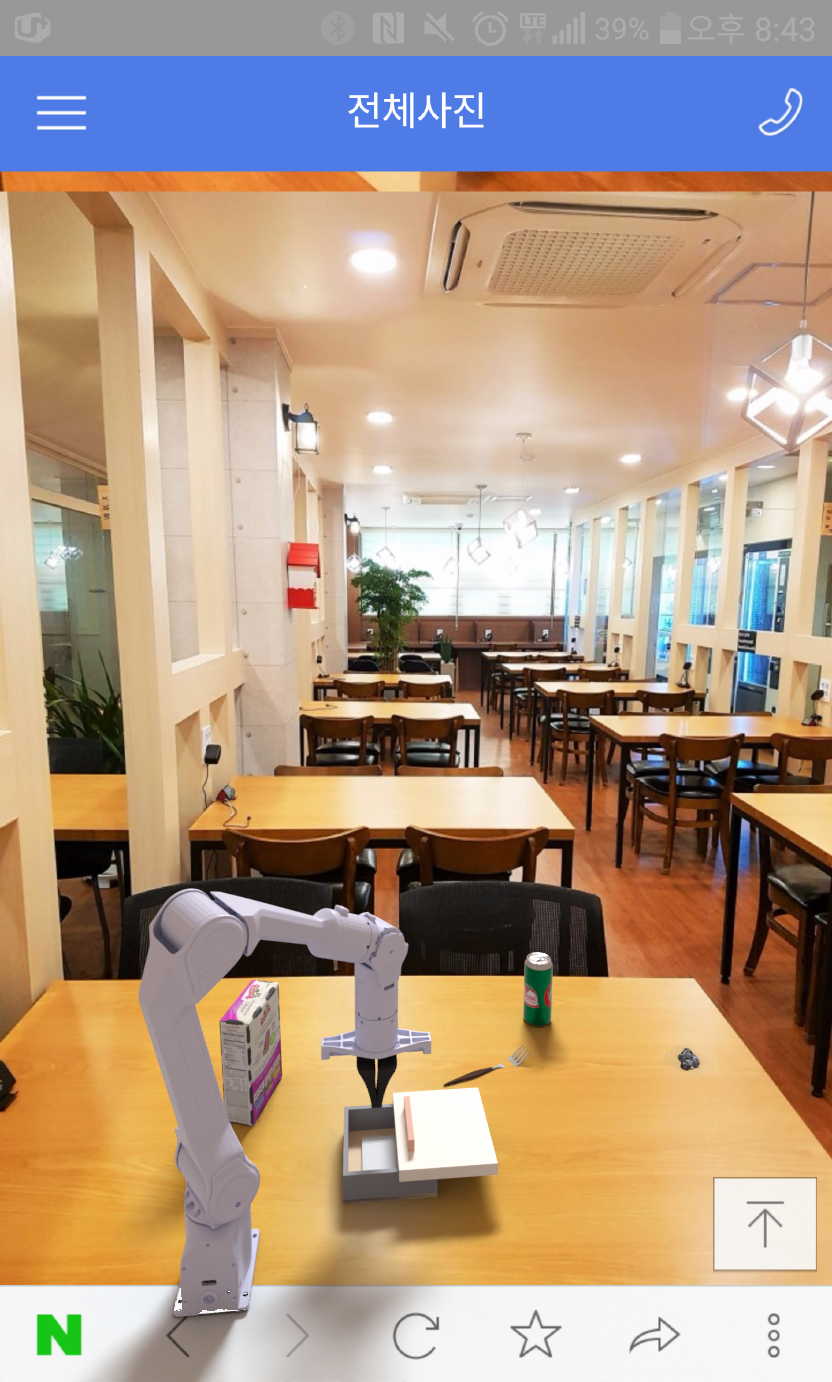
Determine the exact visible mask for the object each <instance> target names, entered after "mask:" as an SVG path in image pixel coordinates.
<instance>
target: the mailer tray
mask: <svg viewBox="0 0 832 1382" xmlns="http://www.w3.org/2000/svg"><path fill="white" fill-rule="evenodd" d="M342 1156H343V1157H342V1158H343V1159H342V1160H343V1162H342V1190H343V1191H342V1200H343V1202H342V1203H343V1204H342V1205H351V1204H364V1203H365V1204H366V1203H379V1202H380V1203H381V1202H388V1201H389V1202H390V1201H393V1202H394V1201H402V1200H415V1199H416V1200H417V1199H428V1198H429V1199H430V1198H437V1197H438V1179H432V1180H418V1181H405V1182H399V1167H398V1155H397V1142H396V1130H395V1118H394V1106H393V1103H382V1107H381V1108H371V1104H370V1105H366V1104H365V1105H353V1106H344V1107H343V1155H342Z"/></svg>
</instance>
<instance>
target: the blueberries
mask: <svg viewBox="0 0 832 1382" xmlns="http://www.w3.org/2000/svg"><path fill="white" fill-rule="evenodd" d="M671 1054H672V1052H670V1054H669V1053H666V1055H667V1056H670V1055H671ZM677 1060H678V1061H679V1062H680V1065H679V1067H680V1069H681V1070H683V1071H690V1070H694V1069H696V1068H700V1067H701V1066H700V1060H699V1057H698V1056H697V1055H696V1054H694V1052H693V1051H692V1050H691V1049H690V1048H688V1047H684V1049H682V1051H681V1052H680V1053H679V1054H678V1055H677Z"/></svg>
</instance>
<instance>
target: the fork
mask: <svg viewBox="0 0 832 1382" xmlns="http://www.w3.org/2000/svg"><path fill="white" fill-rule="evenodd" d="M523 1046H524V1044H521V1045H520V1047H518V1049H517V1050H516V1051H514V1052H513V1053H512V1054H511V1055H510V1056H508V1057H507V1060H508V1061H509V1062H510V1063H511V1064H512V1065H513V1066H514V1067H516V1068H517V1067H519V1066H520V1065H521V1064H522V1063H523V1061H525V1060H526V1058H527V1057H528V1056H530V1054H531V1051H529V1049H528V1048H527V1049H526V1046H524V1047H523ZM522 1047H523V1048H522ZM521 1048H522V1049H521ZM525 1049H526V1050H525ZM524 1050H525V1051H524ZM519 1051H520V1052H519ZM523 1051H524V1052H523ZM528 1051H529V1052H528ZM522 1052H523V1053H522ZM527 1052H528V1053H527ZM526 1053H527V1054H526ZM520 1054H521V1055H520ZM525 1054H526V1055H525ZM524 1055H525V1056H524ZM523 1056H524V1057H523ZM505 1068H506V1067H505V1065H504V1064H503V1063H500V1062H499V1064H497V1065H493V1066H489V1067H486V1068H485V1067H484V1068H481V1069H476V1070H473V1071H471V1072H468V1073H465V1074H463V1075H461V1076H459V1077H456V1078H454V1079H451V1080H449V1081H448V1082H446V1083H444V1084H443V1086H444V1087H447V1086H451V1085H454V1084H458V1083H462V1082H464V1081H465V1082H467V1081H469V1080H472V1079H476V1078H479V1077H481V1076H483V1075H485V1074H487V1073H490V1072H492V1071H494V1070H496V1069H505Z"/></svg>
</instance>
